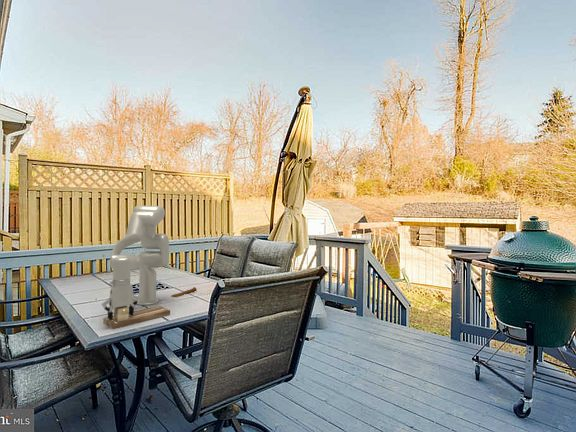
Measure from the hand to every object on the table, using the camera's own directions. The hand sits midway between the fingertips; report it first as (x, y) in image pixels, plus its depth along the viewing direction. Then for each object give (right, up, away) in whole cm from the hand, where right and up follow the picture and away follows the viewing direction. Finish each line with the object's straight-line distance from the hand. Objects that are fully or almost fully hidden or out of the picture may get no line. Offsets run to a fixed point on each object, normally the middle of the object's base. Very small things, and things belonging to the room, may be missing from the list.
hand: (121, 317), depth 155 cm
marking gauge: (0, -1, 0) cm, 1 cm away
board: (+4, -4, +9) cm, 10 cm away
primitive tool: (+12, -4, +60) cm, 61 cm away
